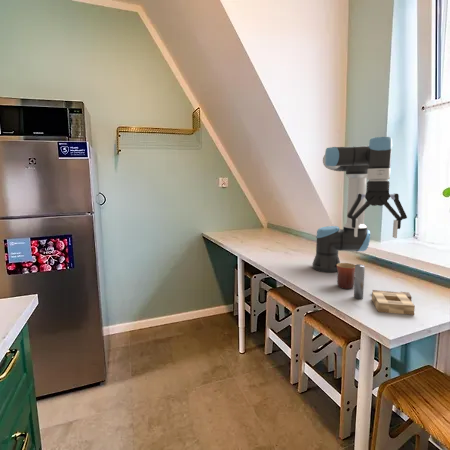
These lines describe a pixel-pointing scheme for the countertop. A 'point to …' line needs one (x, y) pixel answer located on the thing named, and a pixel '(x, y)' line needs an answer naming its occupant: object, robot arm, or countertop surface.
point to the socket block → (392, 303)
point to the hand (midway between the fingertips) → (374, 237)
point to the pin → (359, 281)
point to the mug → (346, 275)
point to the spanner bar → (396, 292)
